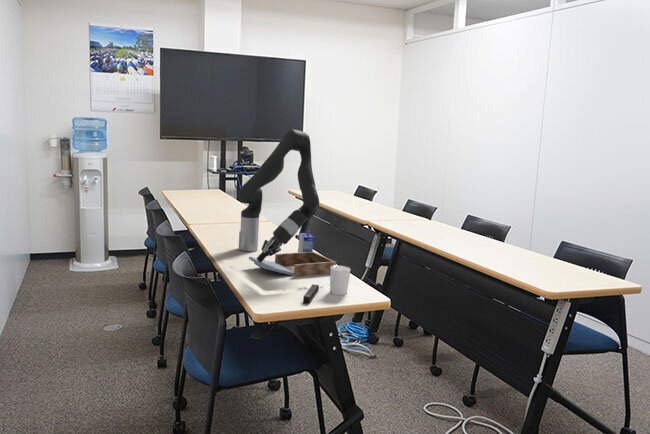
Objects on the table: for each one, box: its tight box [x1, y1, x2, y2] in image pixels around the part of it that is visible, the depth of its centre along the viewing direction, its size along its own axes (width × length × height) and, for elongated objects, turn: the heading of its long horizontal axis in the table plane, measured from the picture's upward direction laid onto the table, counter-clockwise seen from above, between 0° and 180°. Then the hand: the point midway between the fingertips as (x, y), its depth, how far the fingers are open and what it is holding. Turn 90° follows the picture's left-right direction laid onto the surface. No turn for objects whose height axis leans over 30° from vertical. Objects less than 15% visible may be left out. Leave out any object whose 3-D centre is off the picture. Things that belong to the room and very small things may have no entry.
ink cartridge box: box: [297, 229, 315, 253], centre depth 256 cm, size 10×6×14 cm, turn 15°
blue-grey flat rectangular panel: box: [248, 256, 294, 276], centre depth 224 cm, size 2×17×14 cm
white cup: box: [329, 265, 351, 296], centre depth 207 cm, size 8×8×10 cm
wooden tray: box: [274, 251, 337, 278], centre depth 233 cm, size 20×20×6 cm
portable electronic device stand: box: [302, 283, 320, 305], centre depth 200 cm, size 18×3×3 cm, turn 170°
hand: (258, 260), depth 221 cm, fingers closed
